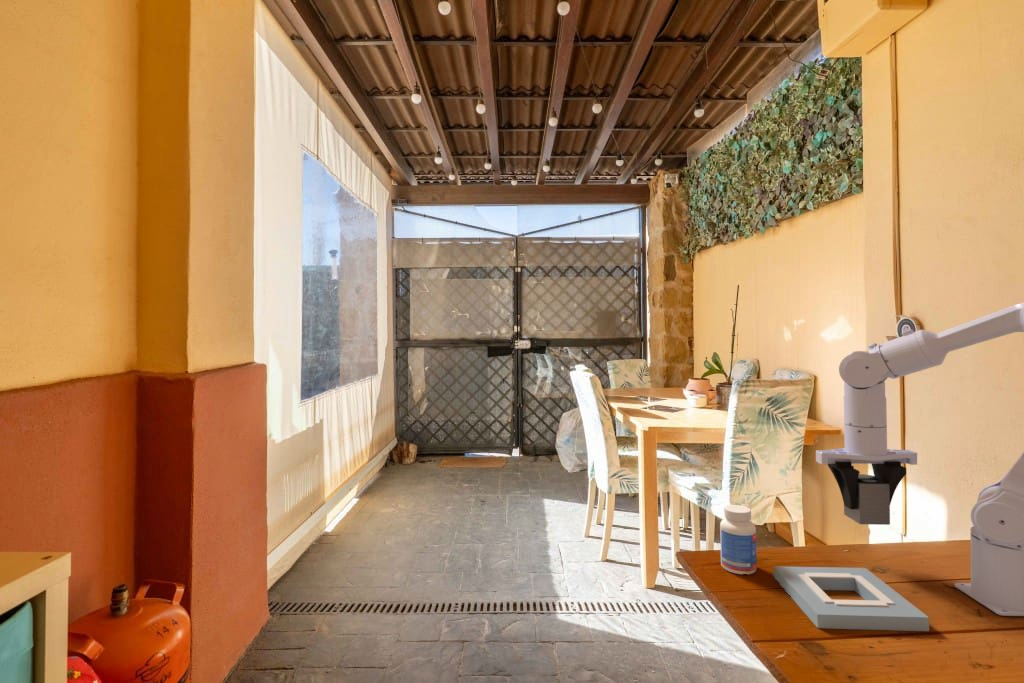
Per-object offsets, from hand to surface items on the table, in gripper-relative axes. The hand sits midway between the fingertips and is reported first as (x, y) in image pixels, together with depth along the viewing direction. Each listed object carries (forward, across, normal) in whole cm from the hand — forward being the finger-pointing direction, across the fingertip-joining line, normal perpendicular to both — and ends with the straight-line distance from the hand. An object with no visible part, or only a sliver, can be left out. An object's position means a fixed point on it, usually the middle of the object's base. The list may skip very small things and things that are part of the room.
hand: (866, 507), depth 82 cm
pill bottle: (+10, +21, +2) cm, 23 cm away
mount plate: (+9, +10, +12) cm, 18 cm away
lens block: (+2, 0, 0) cm, 2 cm away
